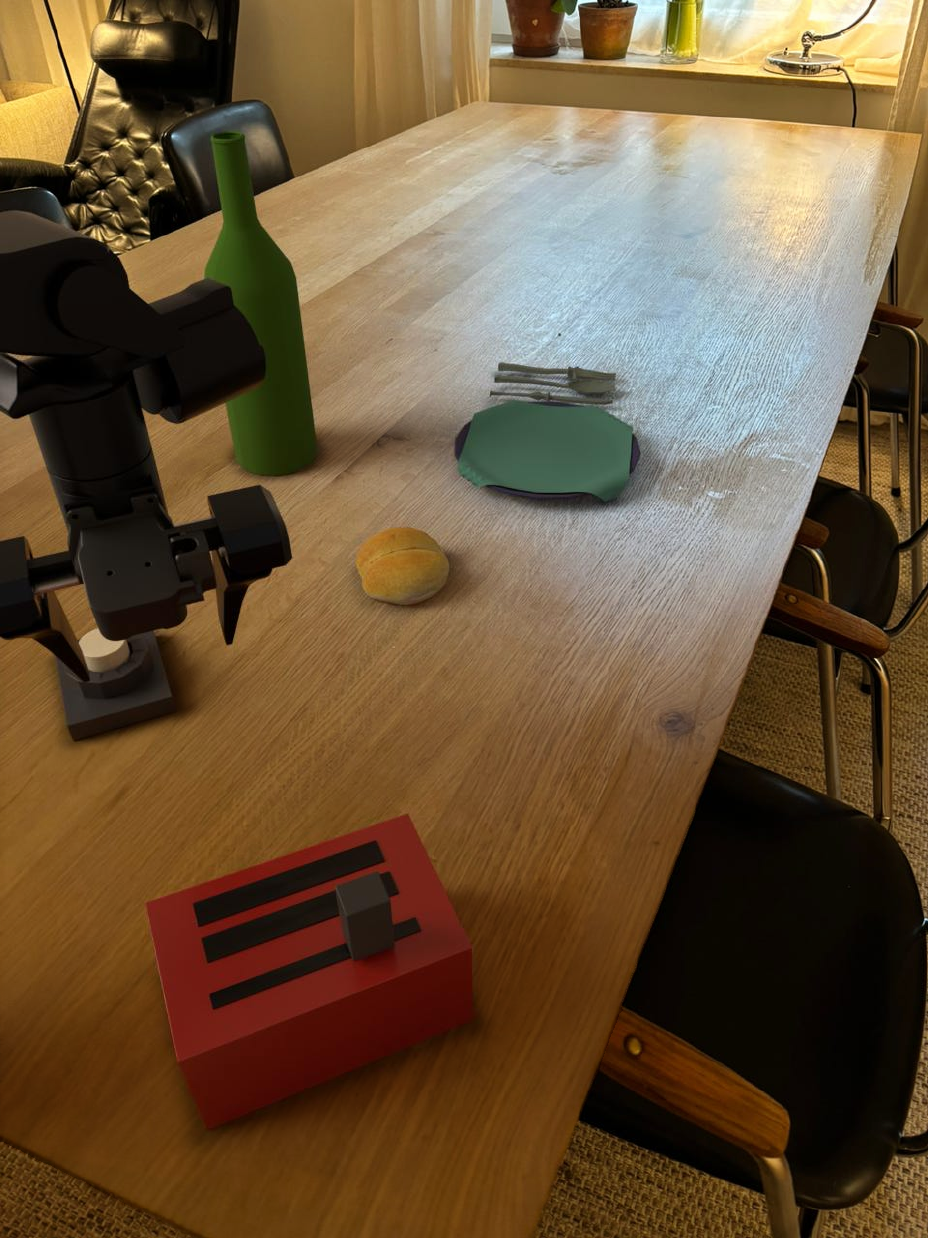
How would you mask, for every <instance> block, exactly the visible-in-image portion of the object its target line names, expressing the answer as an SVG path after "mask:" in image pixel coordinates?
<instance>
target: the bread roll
mask: <svg viewBox="0 0 928 1238" xmlns="http://www.w3.org/2000/svg"><path fill="white" fill-rule="evenodd" d="M355 566H356V569H357V571H358V574H359V576H360V577H361V579H362V581H361V587H362V588H363V591H364V593H365V594H366V595H367V596H368V597H370V598H371V599H374V600H377V601H379V602H384V603H390V604H396V605H400V606H401V605H402V606H407V605H408V606H409V605H415V604H418V603H420V602H423V601H426V600H428V599H430V598H432V597H433V596H434V595H436V594H437V593H438V592H439V591H440V590H441V589H442V588H443V587H444V586H445V585H446V583H447V582H448V581H447V580H448V577H449V572H450V563H449V560H448V558H447V556H446V555H445V552H444V551H443V549H442V547H441V546H440V544H439V543H438V542H437V541H436V540H435V539H434V538H433V537H431V536H430V535H429V533H427V532H425V531H423V530H421V529H418V528H414V527H410V526H396V527H390V528H387V529H384V530H382V531H379V532H377V533H376V534H374V535H372V536H370V537H368V539H366V540H365V542H363V544H362V545H361V546H360V548H359V550H358V552H357V555H356V565H355Z"/></svg>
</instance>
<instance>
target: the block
mask: <svg viewBox="0 0 928 1238" xmlns="http://www.w3.org/2000/svg"><path fill="white" fill-rule="evenodd" d="M81 638H82V637H80V638H79V639H77V640H78V642H79V641H80V640H81ZM126 641H127V644H128V647H129V650H130V656H129V659H128V660H127V662H125V663H124V664H122V665H121V666H119V667H118V668H117V669H114V670H110V671H106V672H103V673H102V672H92V671H90V670H89V675H90V681H89V682H85V683H84V682H83V681H82V680H81V679H80V678H78V677H77V676H76V675H75V674H74V673H73V672H72V671H71V670H70V669H69V668H68V667H67V666H66V665H65V664H64V663H63V662H61V661H60V660H59V659H58V658H57V657H56V656H55V662H56V667H57V674H58V681H59V686H60V692H61V698H62V706H63V710H64V717H65V723H66V728H67V730H68V733H69V735H70V737H71V740H72V742H75V741H77V740H82V739H85V738H89V737H92V736H95V735H99V734H103V733H106V732H109V731H113V730H116V729H120V728H123V727H127V726H129V725H130V726H131V725H133V724H136V723H140V722H144V721H147V720H151V719H155V718H158V717H162V716H164V715H165V716H166V715H168V714H171V713H174V712H177V709H176V704H175V701H174V698H173V694H172V691H171V687H170V683H169V680H168V676H167V673H166V669H165V666H164V663H163V662H164V661H163V659H162V655H161V652H160V648H159V644H158V641H157V638H156V634H155V630H154V631H150V632H146V633H142V634H138V635H134V636H131V637H130V638H129V639H126Z"/></svg>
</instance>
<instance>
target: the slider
mask: <svg viewBox="0 0 928 1238" xmlns="http://www.w3.org/2000/svg"><path fill="white" fill-rule="evenodd" d="M335 891H336V897H337V903H338V909H339V915H340V921H341V927H342V933H343V936H344V938H345V941H346V944H347V946H348V949H349V952H350V954H351V957H352V960H353V961H354V962H356V961H358V960H361V959H363V958H366V957H369V956H371V955H374V954H377V953H379V952H382V951H384V950H387V949H390V948H392V947H394V946H395V940H394V930H393V921H392V911H391V902H390V898H389V896H388V893H387V891H386V889H385V886H384V884H383V882H382V879H381V877H380V875H379V872H374V873H371V874H368V875H365V876H362V877H360V878H357V879H354V880H351V881H348V882H346V883H343V884H340V885H337V886H335Z"/></svg>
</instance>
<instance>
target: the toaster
mask: <svg viewBox="0 0 928 1238" xmlns="http://www.w3.org/2000/svg"><path fill="white" fill-rule="evenodd" d="M374 872H379V875H380V877H381V879H382V882H383V884H384V886H385V889H386V891H387V893H388V896H389V898H390V902H391V911H392V921H393V930H394V940H395V946H394V947H392V948H390V949H387V950H384V951H382V952H379V953H377V954H374V955H371V956H369V957H366V958H363V959H361V960H358V961H356V962H354V961H353V960H352V957H351V954H350V952H349V949H348V946H347V944H346V941H345V938H344V936H343V933H342V927H341V921H340V915H339V909H338V903H337V897H336V891H335V886H337V885H340V884H343V883H346V882H348V881H351V880H354V879H357V878H360V877H362V876H365V875H368V874H371V873H374ZM144 907H145V910H146V911H145V912H146V916H147V922H148V926H149V931H150V937H151V940H152V945H153V950H154V956H155V960H156V965H157V970H158V974H159V979H160V984H161V989H162V994H163V998H164V1005H165V1008H166V1013H167V1017H168V1018H167V1019H168V1022H169V1028H170V1033H171V1037H172V1043H173V1048H174V1052H175V1056H176V1062H177V1064H178V1067H179V1069H180V1071H181V1074H182V1076H183V1078H184V1080H185V1083H186V1086H187V1088H188V1090H189V1092H190V1095H191V1097H192V1100H193V1102H194V1104H195V1106H196V1107H195V1108H196V1109H197V1112H198V1114H199V1116H200V1118H201V1121H202V1123H203V1125H204V1128H205V1130H206V1131H208V1130H211V1129H214V1128H216V1127H218V1126H221V1125H222V1124H226V1123H227V1122H230V1121H232V1120H235V1119H237V1118H239V1117H242V1116H244V1115H247V1114H250V1113H252V1112H254V1111H256V1110H259V1109H262V1108H264V1107H266V1106H269V1105H271V1104H273V1103H277V1102H278V1101H280V1100H283V1099H285V1098H288V1097H291V1096H293V1095H296V1094H298V1093H300V1092H303V1091H305V1090H308V1089H310V1088H312V1087H314V1086H317V1085H319V1084H322V1083H325V1082H327V1081H329V1080H332V1079H334V1078H336V1077H339V1076H341V1075H344V1074H346V1073H349V1072H351V1071H353V1070H356V1069H358V1068H361V1067H363V1066H366V1065H368V1064H370V1063H372V1062H375V1061H378V1060H380V1059H382V1058H384V1057H388V1056H390V1055H392V1054H394V1053H397V1052H399V1051H402V1050H404V1049H406V1048H409V1047H411V1046H414V1045H416V1044H419V1043H422V1042H423V1041H426V1040H428V1039H432V1038H434V1037H435V1036H438V1035H440V1034H442V1033H445V1032H448V1031H450V1030H453V1029H455V1028H457V1027H460V1026H463V1025H465V1024H468V1023H470V1022H472V1021H473V1020H474V997H473V996H474V994H473V985H474V984H473V946H472V944H471V942H470V940H469V938H468V935H467V934H466V931H465V929H464V927H463V925H462V923H461V921H460V919H459V917H458V915H457V912H456V911H455V909H454V906H453V904H452V902H451V900H450V898H449V896H448V894H447V891H446V889H445V888H444V885H443V883H442V881H441V879H440V877H439V875H438V873H437V870H436V869H435V866H434V864H433V862H432V861H431V857H430V856H429V854H428V852H427V850H426V848H425V846H424V844H423V842H422V840H421V837H420V835H419V833H418V831H417V829H416V826H415V825H414V822H413V821H412V819H411V817H410V815H409V813H404V814H401V815H399V816H396V817H393V818H390V819H387V820H385V821H381V822H379V823H376V824H372V825H370V826H367V827H364V828H360V829H358V830H354V831H352V832H349V833H346V834H343V835H340V836H338V837H334V838H331V839H329V840H326V841H322V842H320V843H317V844H313V845H311V846H307V847H305V848H302V849H299V850H296V851H294V852H291V853H288V854H285V855H282V856H278V857H276V858H273V859H269V860H267V861H264V862H261V863H258V864H254V865H252V866H249V867H247V868H244V869H243V868H242V869H240V870H238V871H235V872H232V873H228V874H226V875H223V876H220V877H217V878H214V879H211V880H207V881H205V882H203V883H200V884H196V885H194V886H189V887H188V888H184V889H182V890H178V891H176V892H173V893H170V894H167V895H164V896H161V897H158V898H155V899H152V900H149V901H147V902H144Z"/></svg>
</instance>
